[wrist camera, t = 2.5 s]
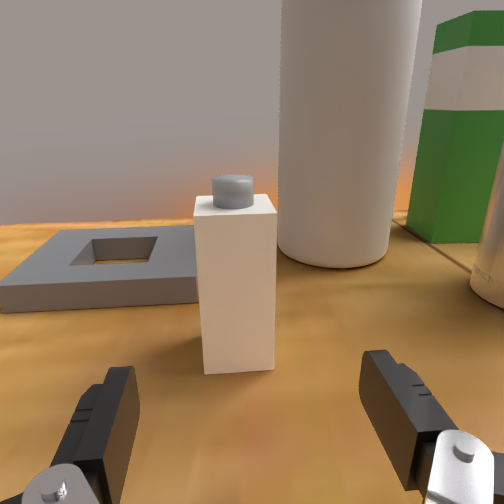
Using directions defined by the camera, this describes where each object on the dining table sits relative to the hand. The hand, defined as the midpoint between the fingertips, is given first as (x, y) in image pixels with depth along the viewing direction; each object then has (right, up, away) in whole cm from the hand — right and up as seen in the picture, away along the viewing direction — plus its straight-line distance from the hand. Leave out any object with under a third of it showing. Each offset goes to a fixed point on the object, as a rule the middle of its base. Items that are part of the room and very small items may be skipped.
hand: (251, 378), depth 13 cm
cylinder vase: (+9, +5, +31) cm, 32 cm away
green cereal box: (+30, +7, +36) cm, 47 cm away
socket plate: (-13, +2, +25) cm, 28 cm away
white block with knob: (-1, -3, +13) cm, 13 cm away
